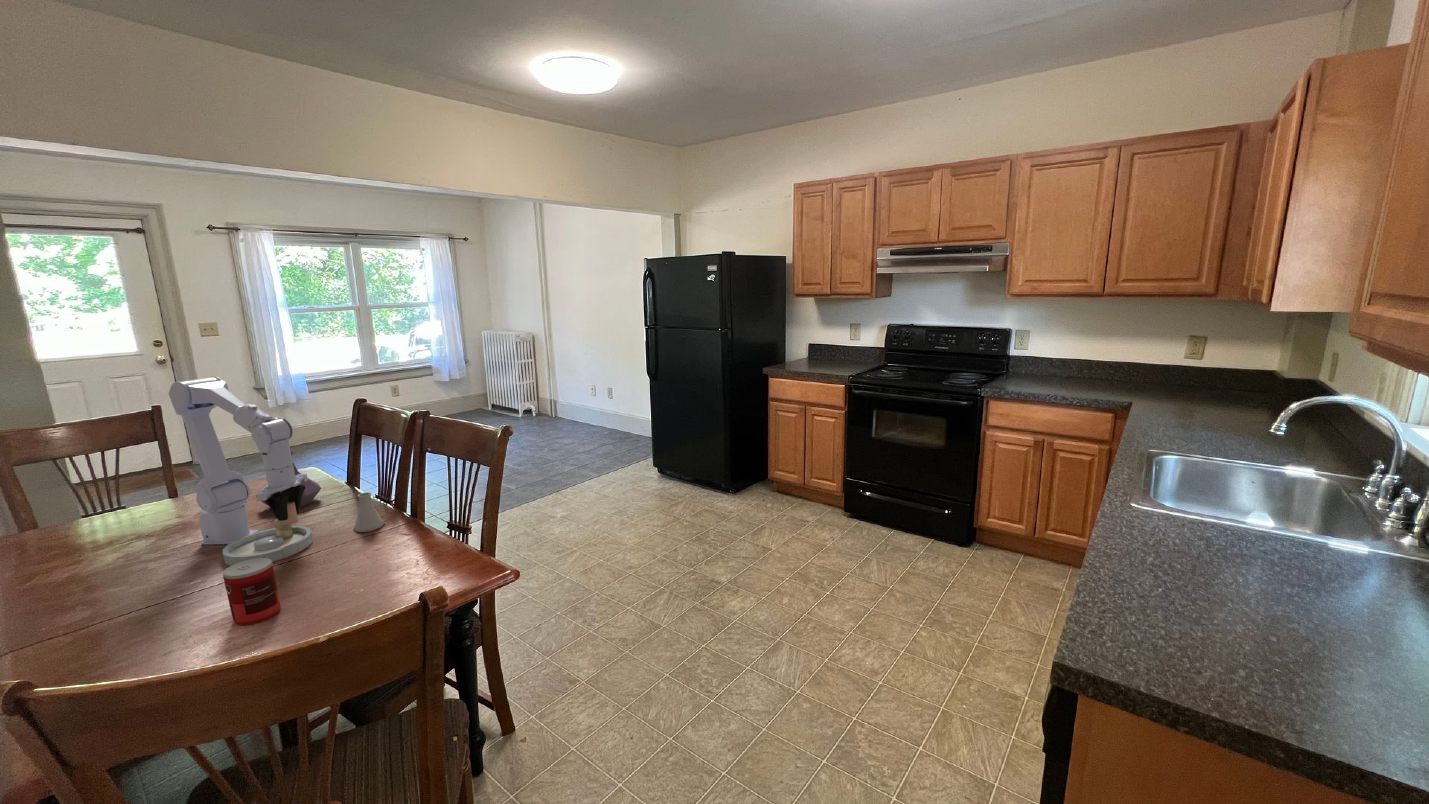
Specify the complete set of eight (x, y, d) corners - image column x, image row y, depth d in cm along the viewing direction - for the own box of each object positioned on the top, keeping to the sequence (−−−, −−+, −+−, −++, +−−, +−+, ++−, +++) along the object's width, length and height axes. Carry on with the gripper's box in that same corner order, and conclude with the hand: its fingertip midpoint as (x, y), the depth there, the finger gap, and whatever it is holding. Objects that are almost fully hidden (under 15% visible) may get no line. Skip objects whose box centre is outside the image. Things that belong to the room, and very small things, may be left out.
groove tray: (204, 566, 136) (202, 557, 136) (264, 534, 154) (262, 526, 153) (276, 566, 136) (274, 556, 135) (328, 534, 154) (326, 525, 153)
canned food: (250, 606, 118) (240, 558, 116) (290, 603, 119) (281, 556, 117) (222, 627, 111) (211, 577, 109) (265, 624, 112) (254, 574, 109)
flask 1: (336, 499, 180) (325, 439, 176) (279, 518, 165) (267, 453, 161) (305, 492, 186) (294, 435, 182) (248, 510, 172) (235, 448, 168)
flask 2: (370, 533, 153) (365, 499, 151) (348, 532, 154) (342, 498, 152) (390, 523, 160) (385, 490, 158) (368, 521, 161) (363, 489, 159)
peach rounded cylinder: (278, 524, 143) (274, 506, 142) (288, 519, 146) (285, 501, 145) (291, 524, 143) (287, 506, 142) (301, 519, 146) (297, 501, 145)
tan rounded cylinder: (284, 534, 152) (281, 516, 151) (296, 533, 152) (293, 516, 151) (274, 539, 148) (270, 521, 148) (286, 539, 148) (283, 521, 147)
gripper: (271, 475, 134) (282, 528, 137) (314, 457, 149) (323, 505, 151) (243, 476, 135) (254, 528, 137) (288, 458, 149) (297, 506, 151)
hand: (288, 516), depth 144 cm, fingers closed on peach rounded cylinder, 3 cm apart
